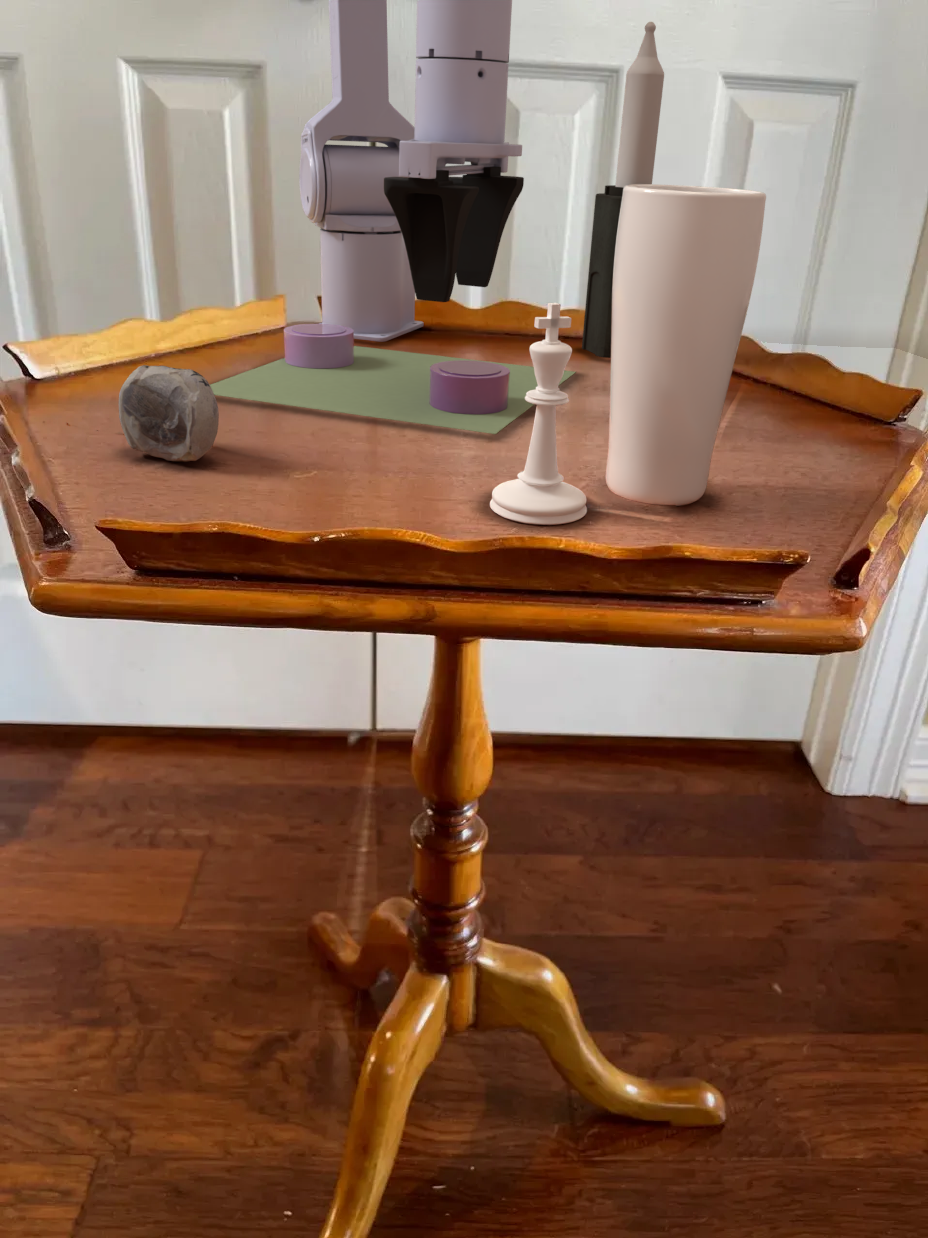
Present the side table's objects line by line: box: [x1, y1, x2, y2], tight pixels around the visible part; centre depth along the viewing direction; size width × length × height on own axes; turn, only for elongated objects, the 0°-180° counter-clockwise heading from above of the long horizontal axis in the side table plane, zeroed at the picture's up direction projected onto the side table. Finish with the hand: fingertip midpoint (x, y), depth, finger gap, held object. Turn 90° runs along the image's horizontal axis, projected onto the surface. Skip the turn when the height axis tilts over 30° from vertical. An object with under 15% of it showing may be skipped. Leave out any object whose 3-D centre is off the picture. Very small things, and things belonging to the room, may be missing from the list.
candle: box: [581, 21, 665, 359], centre depth 81 cm, size 5×5×25 cm
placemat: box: [209, 345, 577, 435], centre depth 73 cm, size 20×22×1 cm
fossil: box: [118, 364, 220, 462], centre depth 54 cm, size 6×3×5 cm, turn 68°
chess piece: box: [489, 302, 588, 526], centre depth 48 cm, size 5×5×10 cm
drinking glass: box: [604, 183, 767, 507], centre depth 50 cm, size 7×7×15 cm
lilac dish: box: [283, 323, 355, 369], centre depth 77 cm, size 5×5×2 cm
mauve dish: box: [429, 360, 510, 414], centre depth 67 cm, size 5×5×2 cm
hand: (453, 292), depth 67 cm, fingers open, 7 cm apart
